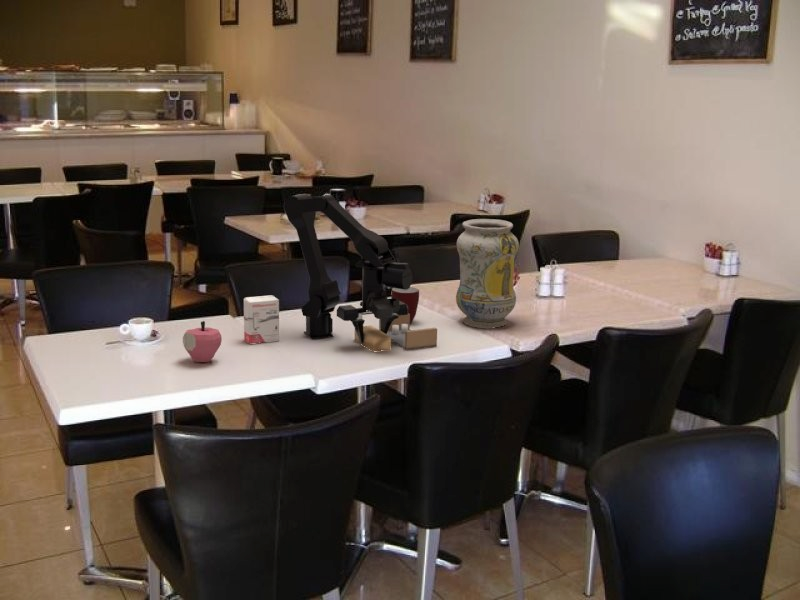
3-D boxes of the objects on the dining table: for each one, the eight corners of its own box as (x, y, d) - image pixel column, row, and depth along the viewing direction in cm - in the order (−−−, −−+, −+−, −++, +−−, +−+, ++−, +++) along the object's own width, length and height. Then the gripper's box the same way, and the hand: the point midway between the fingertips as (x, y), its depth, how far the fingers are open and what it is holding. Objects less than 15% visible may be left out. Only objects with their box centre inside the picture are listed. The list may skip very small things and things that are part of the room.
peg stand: (406, 350, 237) (407, 332, 236) (378, 333, 252) (379, 316, 251) (436, 346, 241) (437, 328, 240) (407, 330, 256) (407, 313, 255)
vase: (483, 335, 253) (488, 229, 246) (441, 321, 267) (444, 220, 259) (527, 325, 265) (533, 224, 257) (484, 312, 278) (489, 216, 271)
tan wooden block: (373, 353, 235) (373, 338, 234) (354, 341, 245) (354, 327, 244) (390, 351, 237) (390, 336, 236) (371, 339, 248) (371, 325, 247)
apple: (177, 360, 225) (176, 321, 222) (207, 353, 230) (206, 316, 228) (198, 369, 218) (197, 330, 216) (228, 362, 224) (227, 323, 221)
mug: (390, 328, 258) (391, 294, 255) (378, 321, 265) (379, 288, 262) (423, 324, 262) (424, 291, 260) (410, 318, 269) (411, 285, 267)
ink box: (249, 345, 239) (248, 301, 236) (243, 340, 243) (242, 297, 240) (280, 341, 243) (279, 298, 240) (273, 336, 247) (273, 294, 244)
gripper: (352, 294, 226) (352, 353, 230) (418, 288, 234) (416, 345, 238) (336, 285, 236) (335, 342, 240) (399, 279, 244) (398, 334, 248)
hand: (372, 341), depth 241 cm, fingers open, 6 cm apart
